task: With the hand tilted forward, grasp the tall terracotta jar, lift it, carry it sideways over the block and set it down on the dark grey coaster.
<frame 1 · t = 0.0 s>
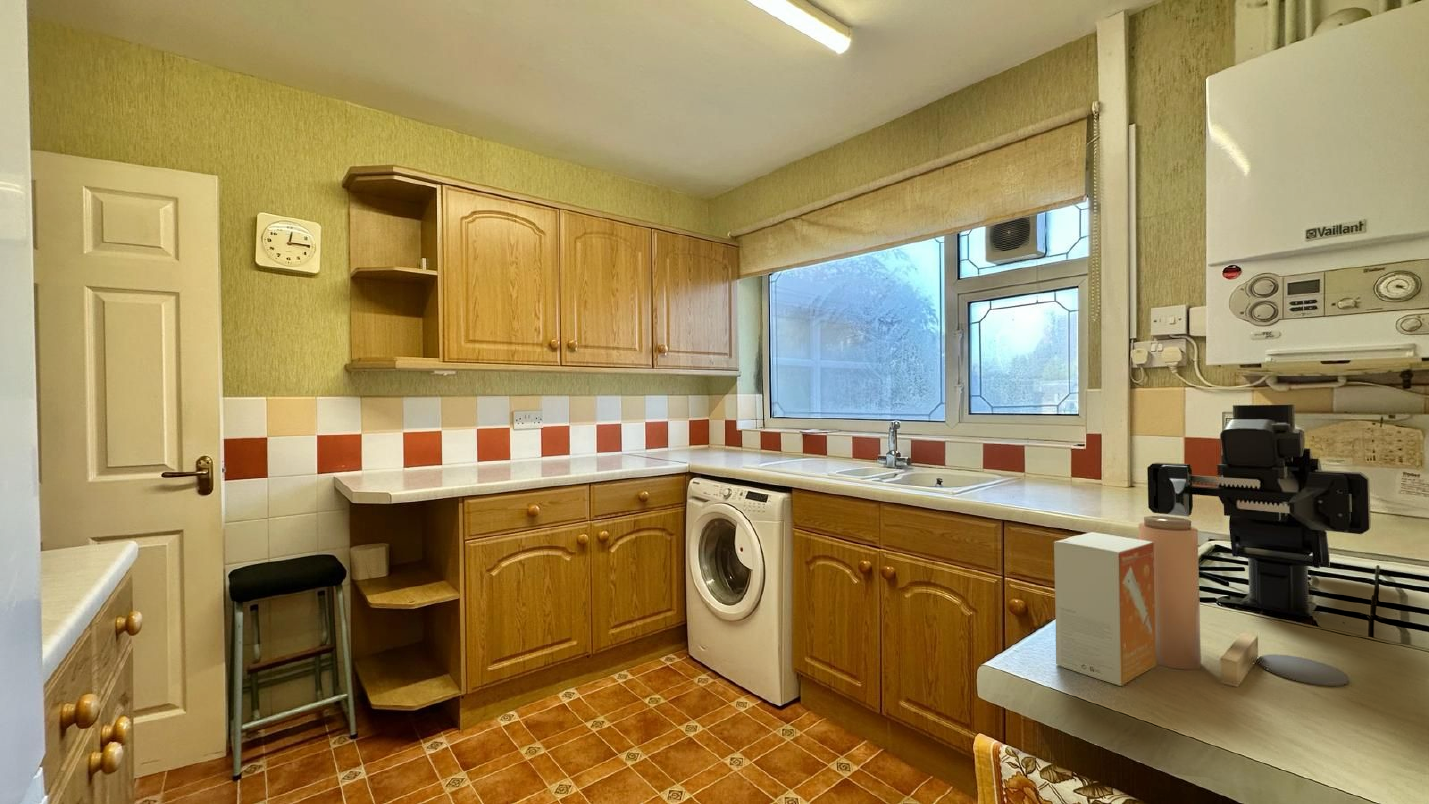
hand: (1231, 502, 63), 17 cm above the table, tool horizontal, fingers open, 9 cm apart
coaster: (1301, 671, 60), on the table
block: (1240, 669, 60), on the table
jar: (1170, 659, 63), on the table
small box: (1106, 668, 62), on the table
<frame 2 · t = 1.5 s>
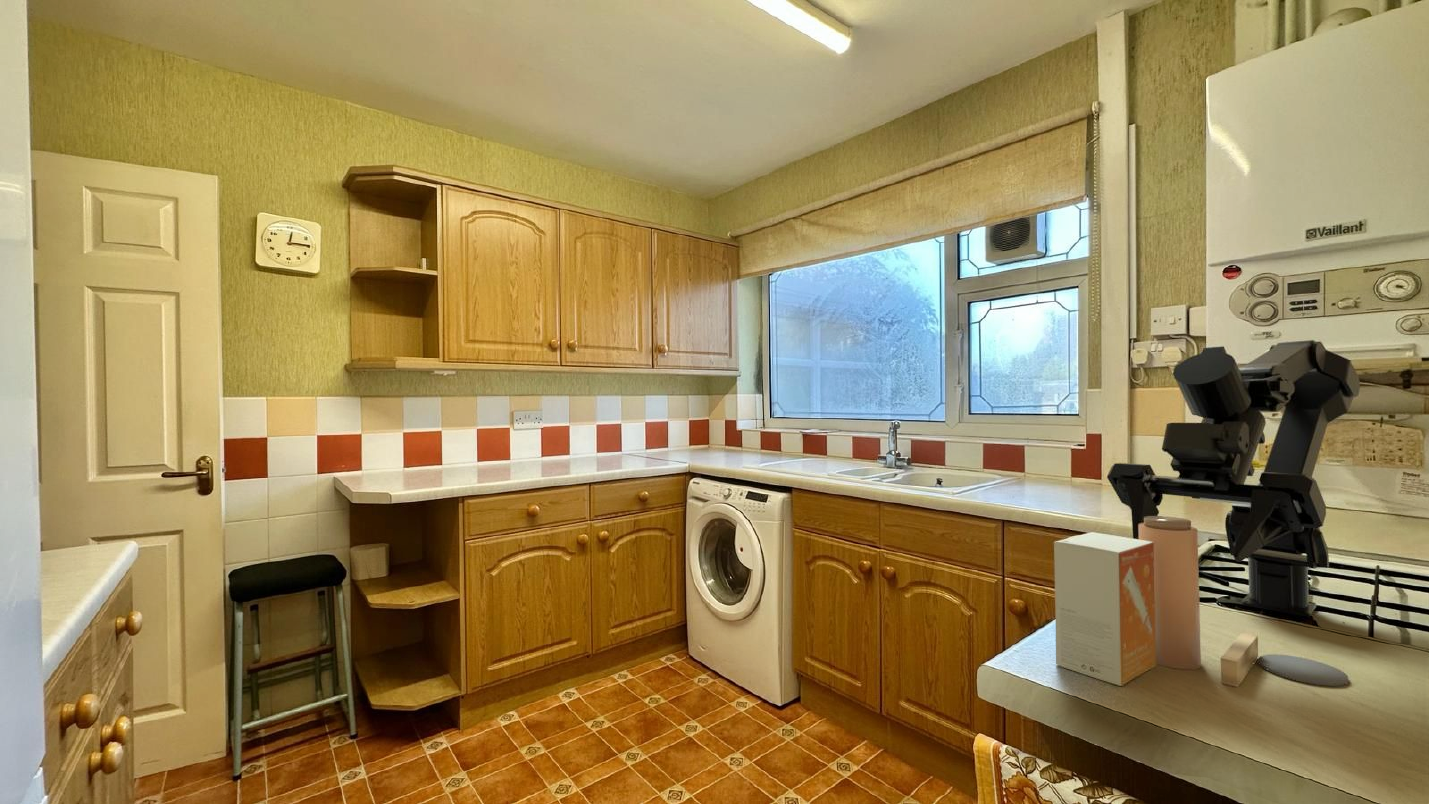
hand: (1183, 550, 65), 11 cm above the table, tool tilted 45°, fingers open, 9 cm apart
nothing on the table moved.
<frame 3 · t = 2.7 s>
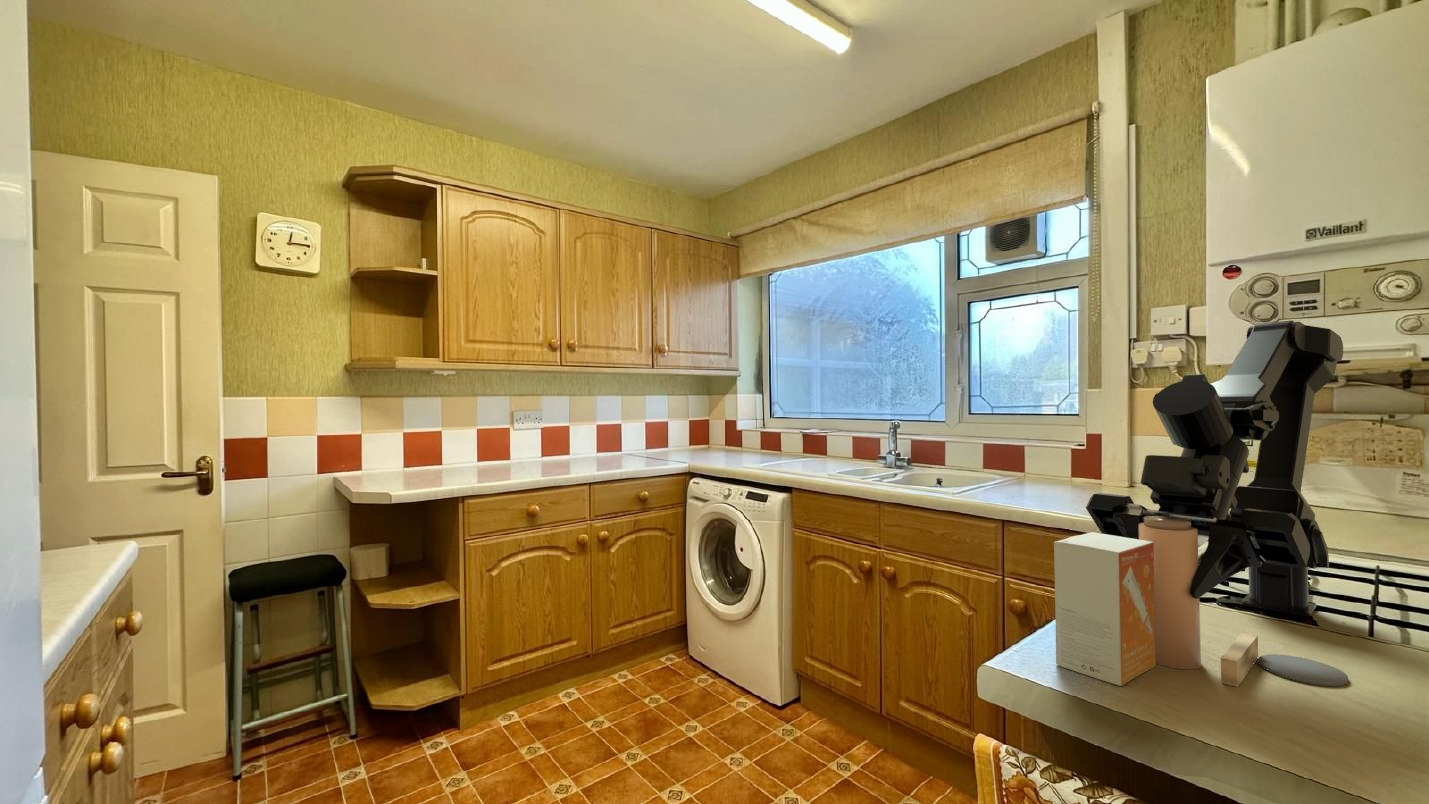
hand: (1162, 589, 62), 8 cm above the table, tool tilted 45°, fingers closed on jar, 5 cm apart
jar: (1170, 659, 63), on the table, touching gripper
everything else where it was.
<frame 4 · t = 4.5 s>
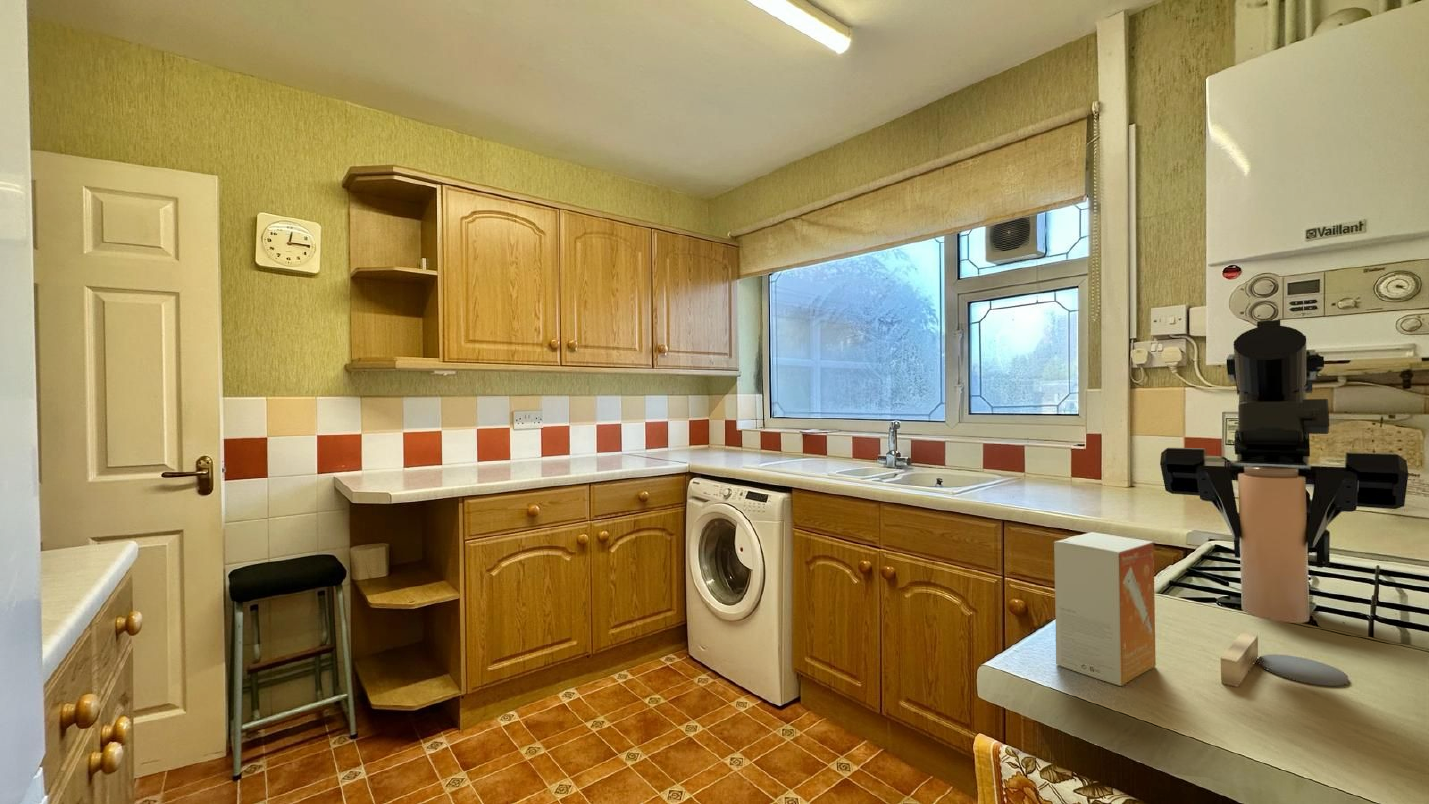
hand: (1272, 541, 59), 13 cm above the table, tool tilted 45°, fingers closed on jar, 5 cm apart
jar: (1274, 613, 60), point 6 cm above the table, touching gripper
everything else where it was.
when the fingers open (9 cm above the table, at t = 6.1 s): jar stays where it is, resting on coaster.
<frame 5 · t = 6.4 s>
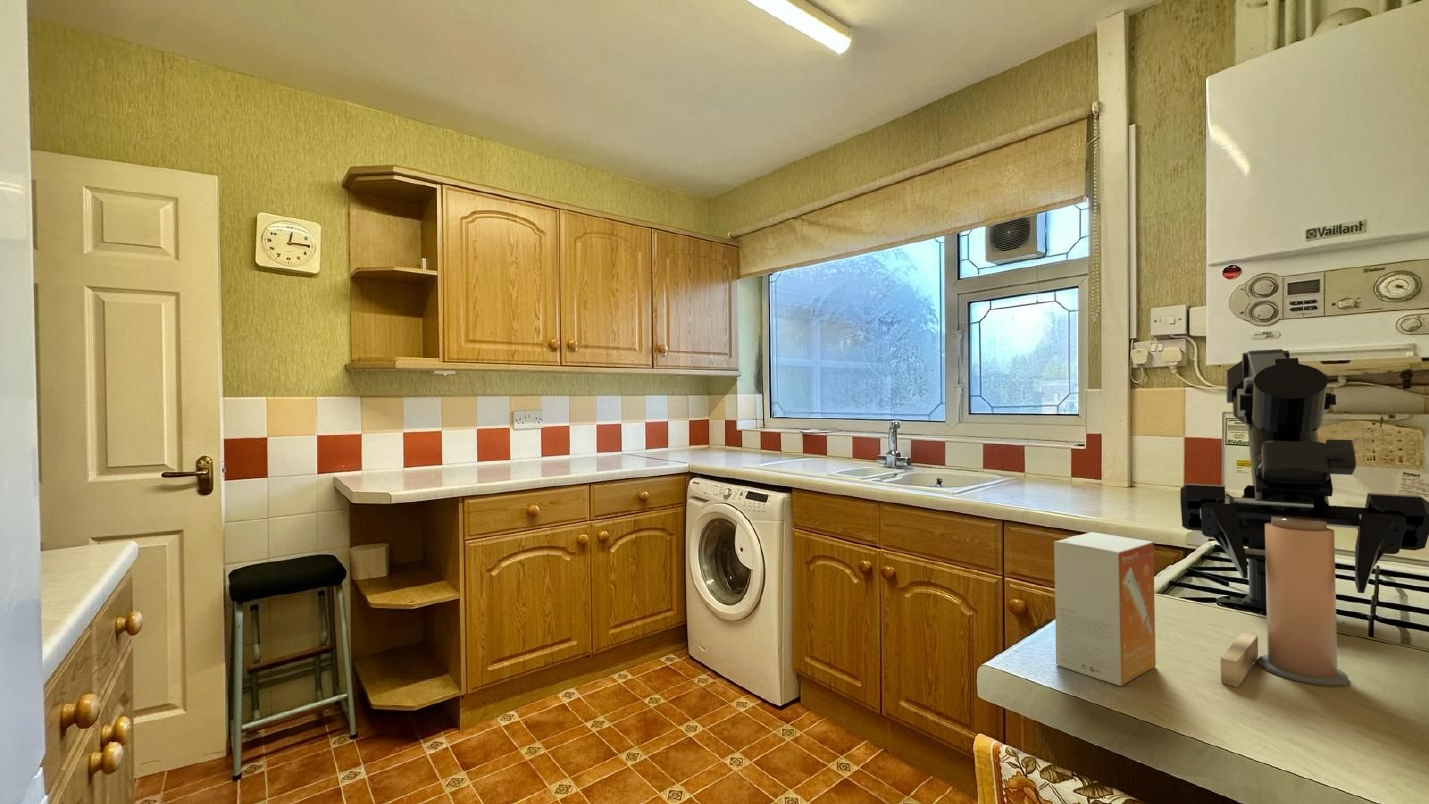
hand: (1300, 583, 59), 9 cm above the table, tool tilted 45°, fingers open, 8 cm apart
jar: (1301, 666, 60), resting on coaster
everything else where it was.
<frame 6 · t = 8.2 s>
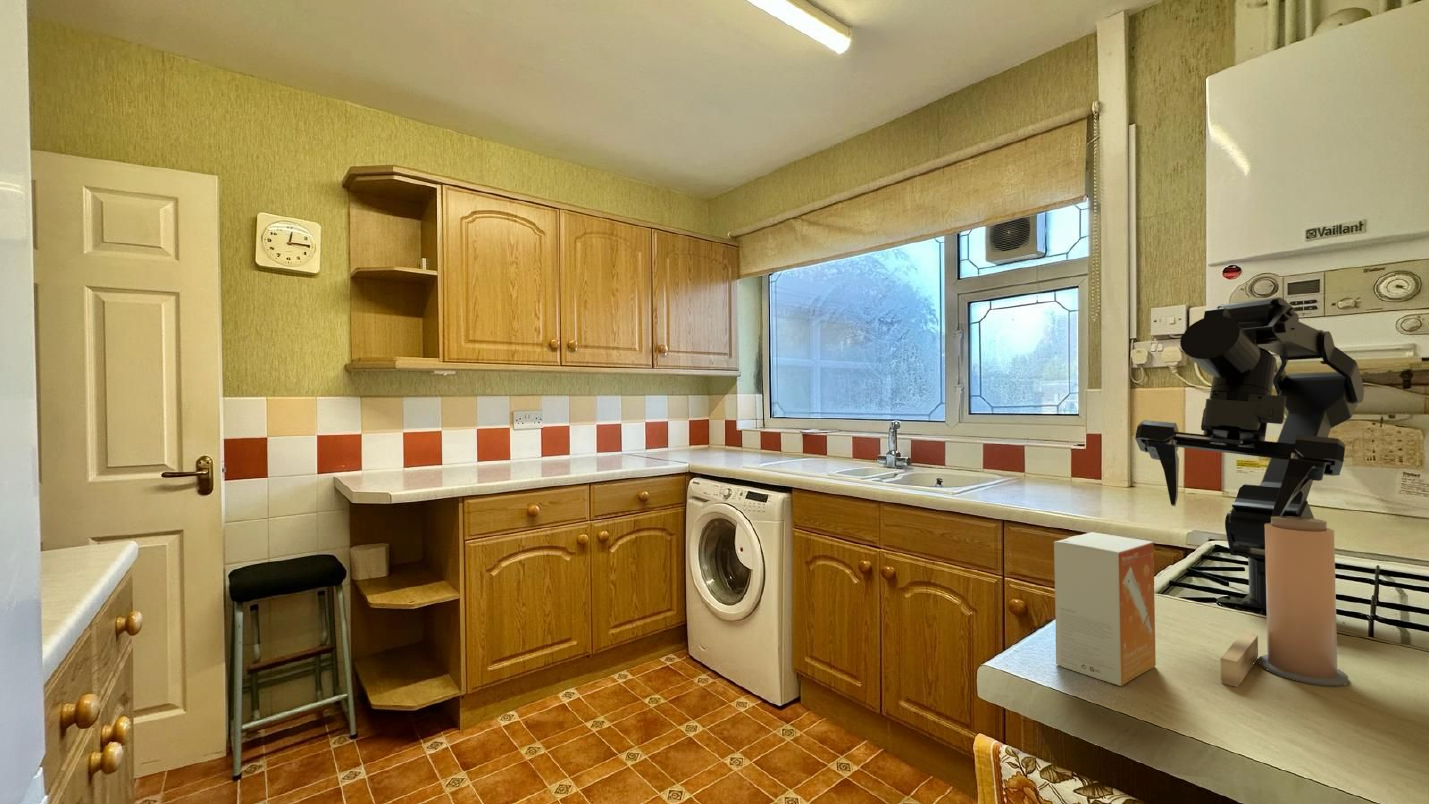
hand: (1221, 513, 71), 14 cm above the table, tool tilted 25°, fingers open, 9 cm apart
nothing on the table moved.
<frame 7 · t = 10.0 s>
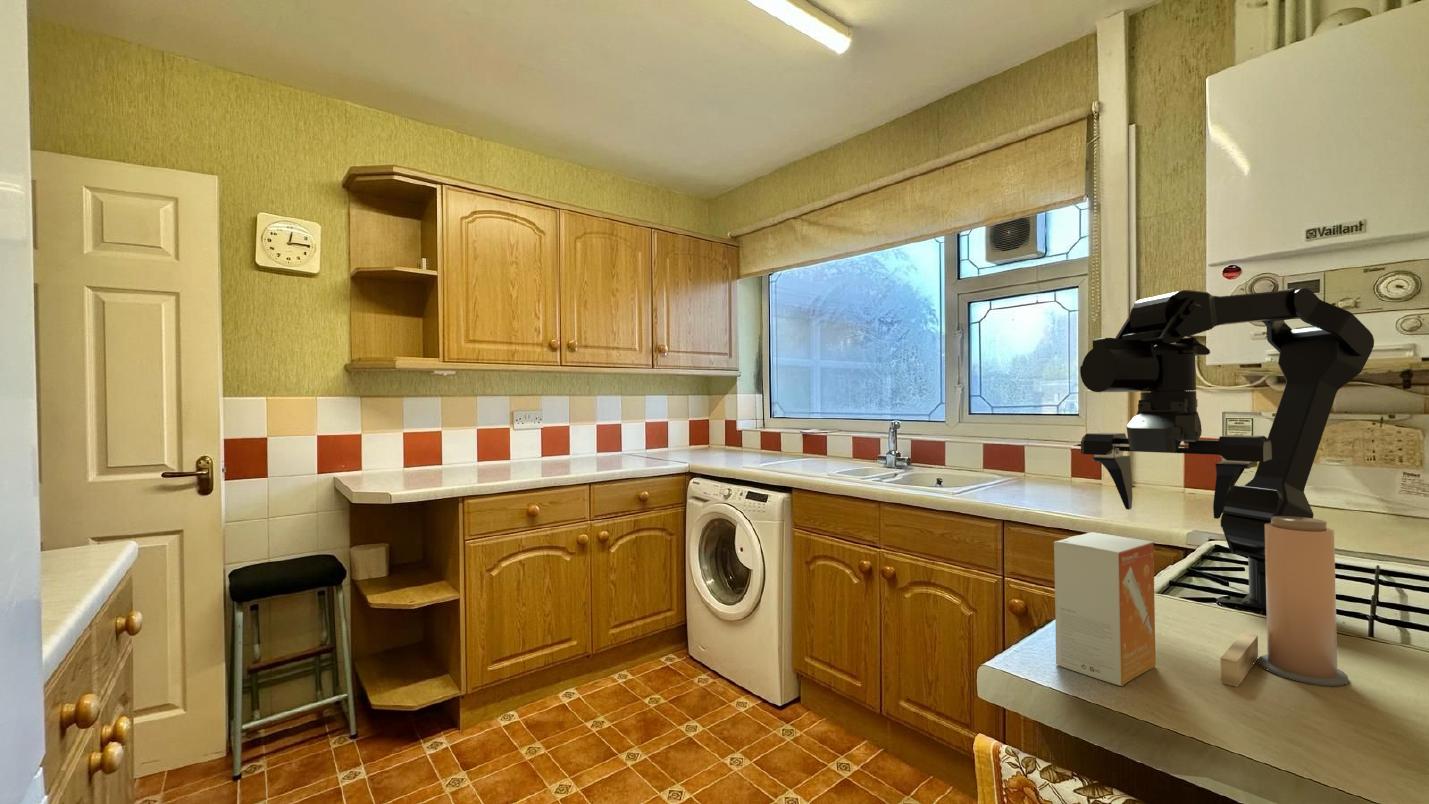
hand: (1170, 513, 76), 13 cm above the table, tool pointing down, fingers open, 9 cm apart
nothing on the table moved.
at the end: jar 0.1 cm from the coaster (horizontally); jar tilted 0°; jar resting on coaster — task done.
